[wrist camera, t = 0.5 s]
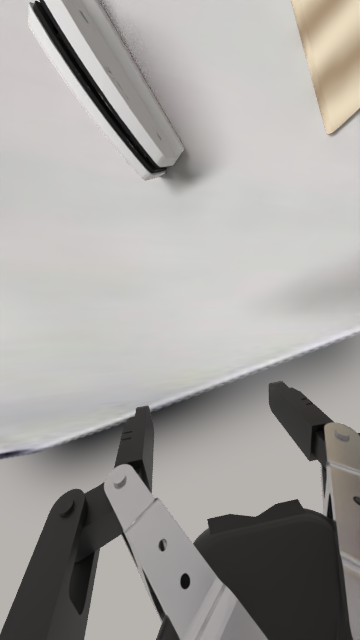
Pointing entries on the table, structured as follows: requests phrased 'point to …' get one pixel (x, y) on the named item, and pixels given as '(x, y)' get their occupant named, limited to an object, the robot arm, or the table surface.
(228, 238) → the table surface
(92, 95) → the grey curved block
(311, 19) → the board
